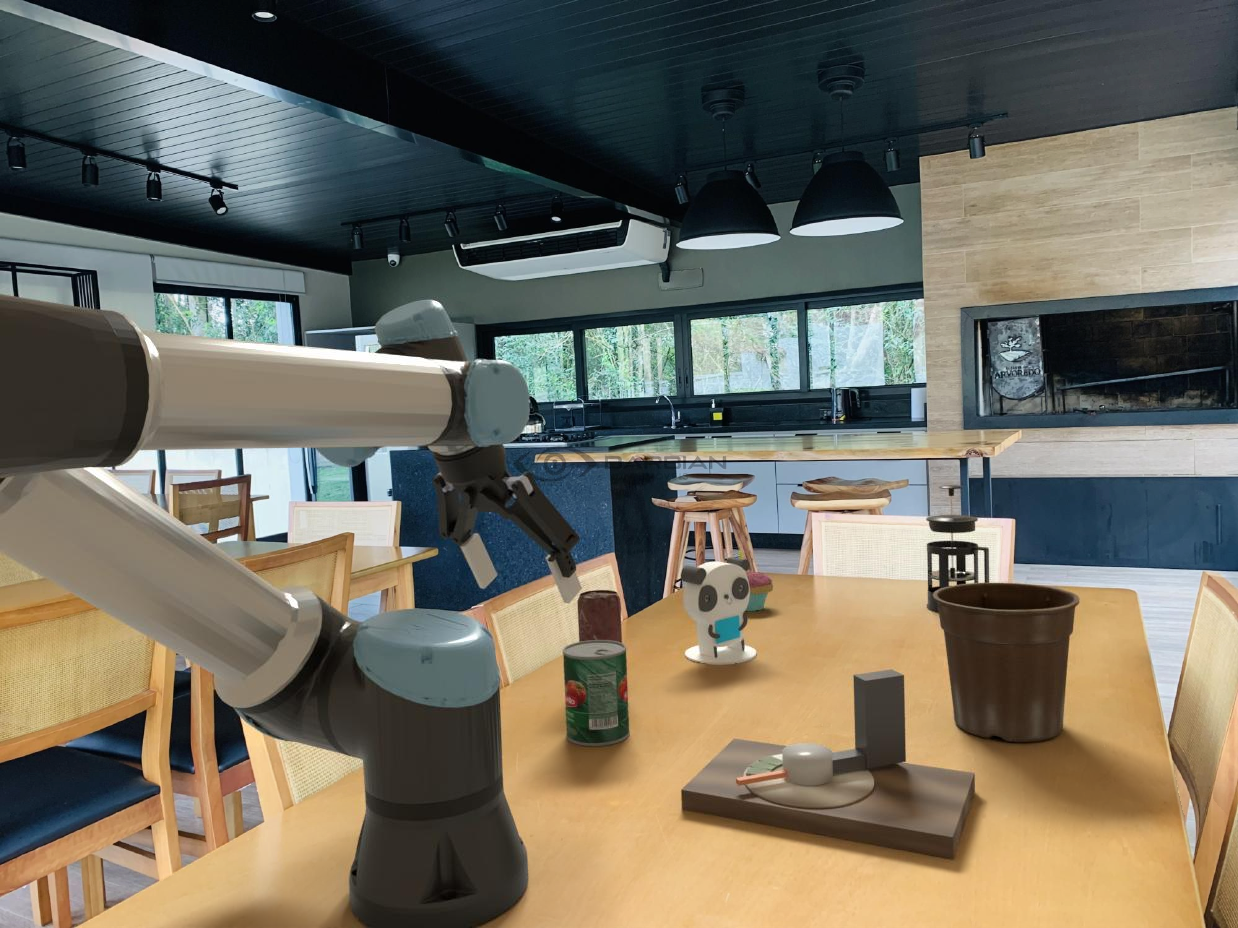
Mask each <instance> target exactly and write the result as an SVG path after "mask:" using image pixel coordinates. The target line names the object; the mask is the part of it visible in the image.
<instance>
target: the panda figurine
mask: <svg viewBox="0 0 1238 928" xmlns="http://www.w3.org/2000/svg"><path fill="white" fill-rule="evenodd" d="M750 564H751V563H750V561H749V560H748V559H747V558H743V559H741V558H740V557H734V556H729V557H728V558H727V559H726V561H725V562H722V561H708V562H705V563H702V564H700V565H698V566H692V565H685V566H684V567H682V569H681V572H680V578H681V581H682V582H684V583H685V585H684V589H683V595H682V604H683V607H684V609H685V612H686V613H687V615H688V616H689V617H690V618H692V620H693V621H695V624H696V625H695V626H696V627H695V628H696V633H697V643H698V644H697V645H695V646H692V647H689V648H688V649H686V650H685V652H684V654H685V656H686V657H687V658H688V659H687V658H686V657H685V658H686V659H687V660H689V661H691V660H692V661H691V662H694V661H695V662H694V663H697V662H700V663H699V664H702V663H707V664H706V665H713V666H714V665H715V666H725V665H734V664H735V663H737V664H742V663H746V662H749V661H752V660H753V659H755V658H756V656H757V650H756V649H755V648H754V647H751V646H749V645H746V644H745V638H744V637H745V636H744V629H745V627H746V626H747V624H748V621H749V620H748V615H747V613H745V612H746V611H745V610H746V608H747V605H748V602H749V598H750V586H749V581H748V577H747V575H746V572H748V571H749V570H750V566H751V565H750ZM745 571H746V572H745Z"/></svg>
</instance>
